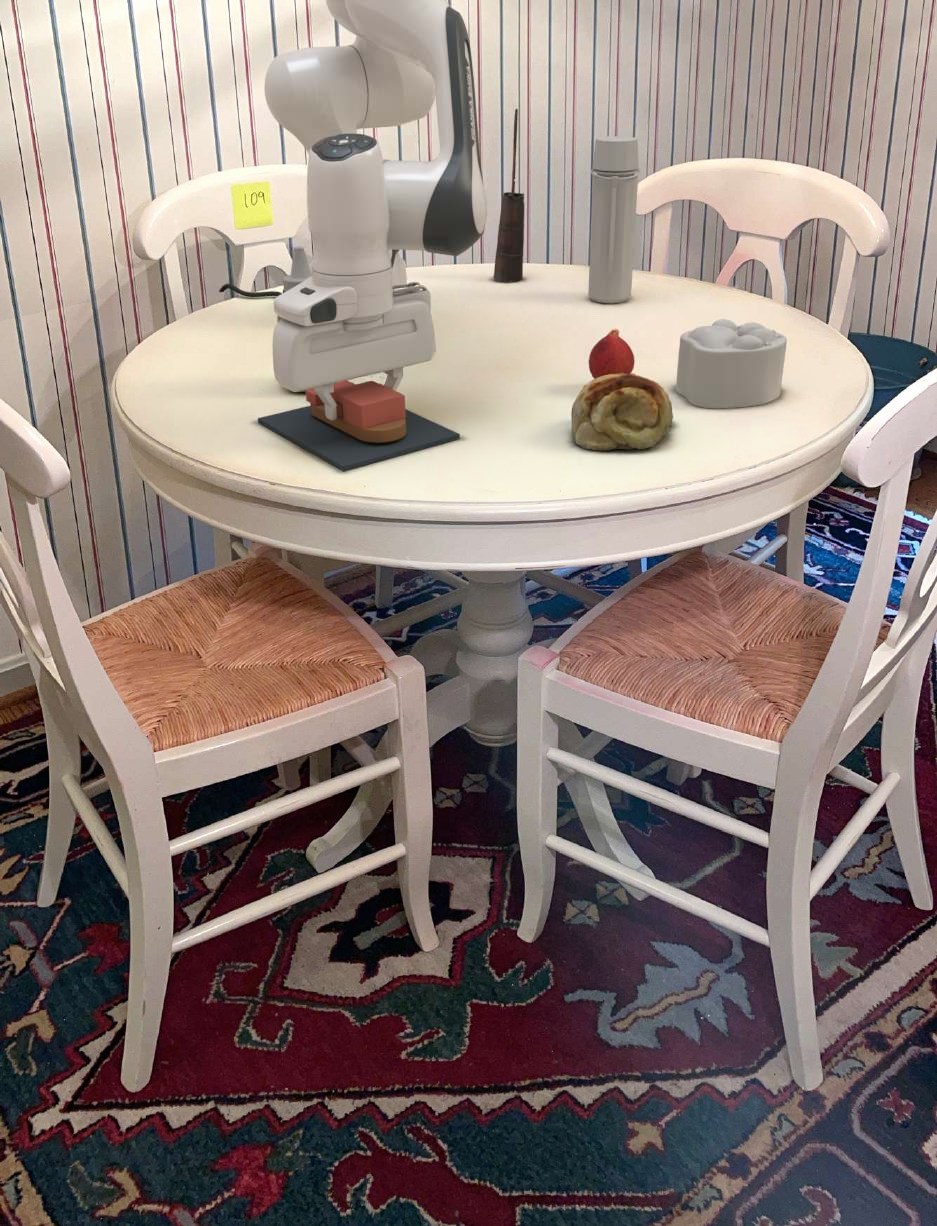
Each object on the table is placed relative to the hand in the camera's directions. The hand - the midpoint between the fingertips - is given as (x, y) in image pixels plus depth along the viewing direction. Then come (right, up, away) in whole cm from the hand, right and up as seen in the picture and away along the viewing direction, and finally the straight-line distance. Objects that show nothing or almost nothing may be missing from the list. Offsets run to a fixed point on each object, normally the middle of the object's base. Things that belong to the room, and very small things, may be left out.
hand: (361, 411), depth 131 cm
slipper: (-1, -1, +2) cm, 2 cm away
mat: (-1, -2, +2) cm, 3 cm away
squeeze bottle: (-8, +6, +17) cm, 20 cm away
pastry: (+31, -3, 0) cm, 31 cm away
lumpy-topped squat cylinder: (+47, +4, +12) cm, 48 cm away
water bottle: (+36, +28, +55) cm, 71 cm away
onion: (+31, +5, +14) cm, 35 cm away
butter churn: (+20, +36, +68) cm, 79 cm away
